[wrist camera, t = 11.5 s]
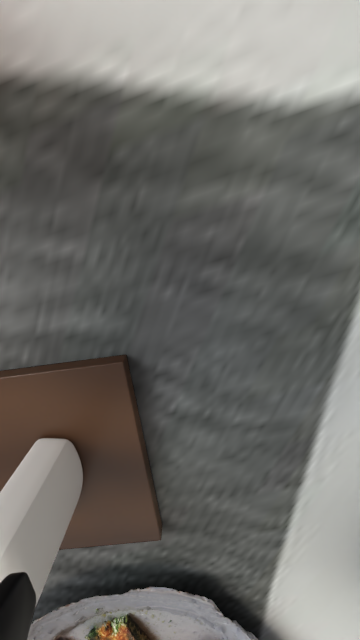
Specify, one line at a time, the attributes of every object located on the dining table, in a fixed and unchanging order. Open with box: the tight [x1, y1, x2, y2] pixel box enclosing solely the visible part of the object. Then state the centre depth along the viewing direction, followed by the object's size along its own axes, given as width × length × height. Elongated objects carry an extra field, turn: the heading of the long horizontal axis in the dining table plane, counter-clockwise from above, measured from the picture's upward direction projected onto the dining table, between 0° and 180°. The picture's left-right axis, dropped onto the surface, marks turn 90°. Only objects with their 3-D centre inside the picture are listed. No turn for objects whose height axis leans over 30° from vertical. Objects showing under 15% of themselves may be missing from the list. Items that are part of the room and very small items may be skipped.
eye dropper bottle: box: [0, 438, 83, 608], centre depth 16 cm, size 4×6×12 cm
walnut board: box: [0, 355, 162, 550], centre depth 22 cm, size 14×12×1 cm
